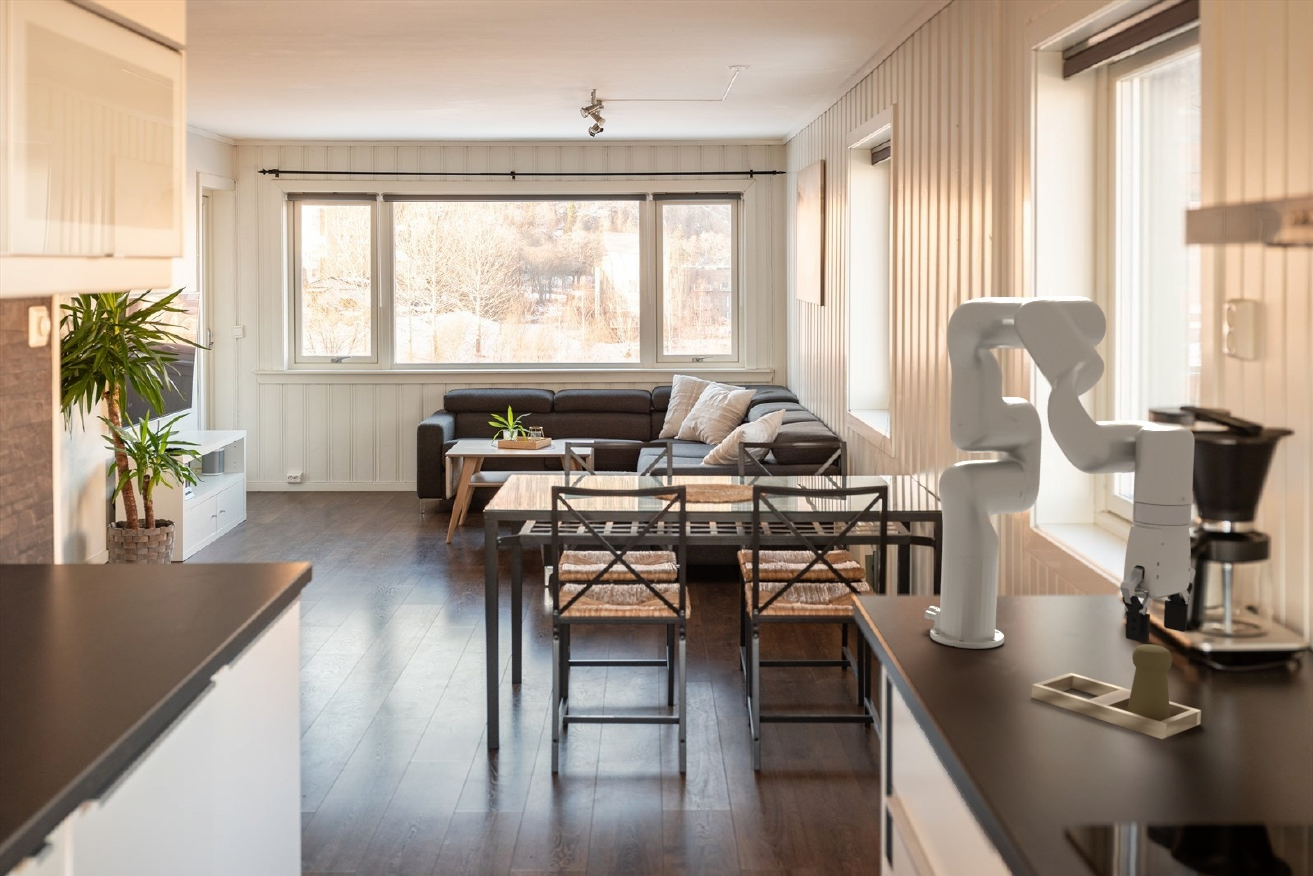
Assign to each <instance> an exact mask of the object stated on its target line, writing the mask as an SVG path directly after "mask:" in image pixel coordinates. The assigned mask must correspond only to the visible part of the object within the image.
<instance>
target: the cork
mask: <svg viewBox="0 0 1313 876" xmlns="http://www.w3.org/2000/svg"><path fill="white" fill-rule="evenodd" d="M1131 659H1132V662H1133V663H1132V664H1133V665H1134V666H1135V671H1134V675H1133V680H1132V685H1131V689H1130V690H1131V694H1130V699H1129V704H1128V708H1127V712H1131V713H1134V714H1137V715H1140V716H1144V717H1147V718H1150V719H1153V720H1157V721H1163V720H1165V719H1168V718H1170V706H1169V701H1170V696H1169V683H1168V671H1169V670H1170V669H1171V666H1172V663H1173V657H1172V653H1171V651H1170V650H1169V649H1167V648H1166V647H1164V646H1161V645H1157V644H1147V643H1143V644H1139V645H1137V646H1136V647H1135V648H1134V649H1133V652H1132V658H1131Z"/></svg>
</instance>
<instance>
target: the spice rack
mask: <svg viewBox="0 0 1313 876" xmlns="http://www.w3.org/2000/svg"><path fill="white" fill-rule="evenodd" d="M1070 689H1074V690H1078V691H1081V692H1085V693H1088V694H1090V695H1094V696H1096V697H1093V698H1090V699H1088V698H1086V697H1085V698H1084V697H1082V696H1079V695H1075V694H1072V693H1068V692H1066V691H1067V690H1070ZM1030 694H1031V696H1030V697H1031V698H1032V699H1035V700H1038V701H1041V702H1044V703H1047V704H1050V705H1052V706H1056V707H1060V708H1062V709H1063V708H1064V709H1065V710H1070V711H1073V712H1076V713H1078V714H1082V715H1084V716H1087V717H1091V718H1094V719H1097V720H1101V721H1104V722H1107V723H1110V724H1112V725H1116V726H1120V727H1122V728H1126V729H1128V730H1133V731H1134V732H1135V731H1136V732H1137V733H1141V734H1145V735H1148V736H1151V737H1154V738H1157V739H1160V740H1164V739H1166V738H1168V737H1172V736H1174V735H1177V734H1178V733H1182V732H1184V731H1187V730H1189V729H1192V728H1194V727H1197V726H1199V725H1201V719H1202V718H1201V716H1202V710H1201V709H1198V708H1193V707H1190V706H1187V705H1184V704H1181V703H1180V704H1179V703H1176V702H1173V701H1170V700H1169V706H1170V718H1168V719H1165V720H1163V721H1157V720H1153V719H1150V718H1147V717H1144V716H1140V715H1137V714H1134V713H1131V712H1127V708H1128V704H1129V699H1130V694H1131V689H1128V688H1125V687H1122V686H1118V685H1115V684H1111V683H1108V682H1104V681H1101V680H1098V679H1095V678H1090V677H1087V676H1084V675H1080V674H1077V673H1074V672H1069V673H1064V674H1062V675H1059V676H1055V677H1053V678H1050V679H1049V678H1048V679H1047V680H1043V681H1038V682H1036V683H1033V684H1031V693H1030Z"/></svg>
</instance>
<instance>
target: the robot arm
mask: <svg viewBox="0 0 1313 876" xmlns="http://www.w3.org/2000/svg"><path fill="white" fill-rule="evenodd" d="M946 330H947V331H946V343H947V352H948V357H949V358H948V359H949V362H950V368H951V369H950V370H951V381H950V382H951V383H950V407H949V411H950V413H949V414H950V415H949V434H950V435H949V436H950V440H951V443H952V445H953V446H954V447H955V448H956V449H957V450H958V451H960V452H964V453H974V454H975V453H976V454H981V453H982V454H983V453H984V454H985V453H986V454H987V453H999V459H979V460H978V459H977V460H976V459H975V460H966V461H960V462H959V461H958V462H955V463H953V464H951V465H949V466H948V467H946V469H944V471H943V472H942V473H941V474H940V475H941V476H940V477H939V481H938V495H939V501H940V508H941V509H940V510H941V514H942V516H941V517H942V550H941V551H942V552H941V573H940V574H941V578H940V579H941V580H940V581H941V582H940V599H939V600H940V603H939V605H940V606H939V607H937V606H935V605H929V606H928V608H927V610H926V611H925V612H924V615H923V616H924V618H925V619H928V620H931V621H932V620H933V621H934V626H933V627H931V629H930V631H929V636H930V639H932V640H933V641H935V642H937V643H939V644H942V645H946V646H949V647H953V646H954V648H961V649H973V650H976V649H977V650H979V649H982V650H983V649H992V648H997V647H1000V646H1001V645H1003V644H1004V642H1005V635H1004V634H1003V633H1002V632H1001V631H999V630H998V629H996V621H997V599H998V581H999V580H998V579H999V557H1000V556H999V554H1000V553H999V552H1000V551H999V550H1000V543H999V537H998V534H997V531H996V530H995V528H994V526H993V525H992V522H991V520H990V519H989V518H990V517H989V516H994V515H1003V514H1004V515H1006V514H1008V515H1009V514H1017V513H1023V512H1026V511H1028V510H1029V509H1031V508H1032V507H1033V506H1034V505H1035V503H1036V501H1037V499H1038V497H1039V491H1040V482H1041V481H1040V480H1041V463H1042V462H1041V459H1042V458H1041V456H1042V439H1043V437H1042V434H1043V432H1042V424H1041V418H1040V415H1039V413H1038V411H1037V409H1036V407H1035V406H1034V404H1032V403H1031V402H1030V401H1029V400H1027V399H1025V398H1022V397H1018V396H1017V397H1015V396H1014V397H1013V396H1012V397H1011V396H1010V397H1009V396H1006V397H1004V396H1003V371H1002V368H1001V365H1000V364H999V362H998V359H997V358H996V356H995V355H994V353H993V351H991V350H993V349H1007V350H1010V349H1012V350H1014V349H1017V350H1018V349H1020V350H1021V349H1023V350H1024V349H1025V350H1026V351H1027V352H1028V354H1029V355H1030V358H1031V359H1032V360H1033V362H1034V364H1035V365H1036V367H1037V368H1038V370H1039V371H1040V373H1041V374H1042V376H1043V378H1044V379H1045V380H1046V382H1047V384H1048V385H1049V387H1050V393H1049V395H1048V399H1047V405H1046V406H1047V408H1046V409H1047V410H1046V411H1047V413H1046V414H1047V421H1048V428H1049V431H1050V433H1051V435H1052V437H1053V439H1054V440H1055V442H1056V443H1057V446H1058V447H1059V449H1060V450H1061V452H1062V453H1063V455H1064V456H1065V458H1066V459H1067V460H1068V461H1069V462H1070V463H1071V465H1072V466H1074V468H1075V469H1077V470H1079V471H1081V472H1082V473H1086V474H1090V475H1097V474H1098V475H1103V474H1118V473H1122V474H1126V473H1127V474H1128V473H1129V474H1130V473H1134V475H1133V476H1134V479H1133V482H1134V483H1133V505H1132V524H1131V526H1130V529H1129V535H1128V538H1127V542H1126V543H1127V544H1126V550H1125V551H1126V552H1125V557H1124V558H1125V559H1124V567H1123V568H1124V569H1123V579H1122V580H1123V581H1122V582H1121V583H1120V585H1119V588H1120V592H1121V595H1122V598H1121V599H1122V603H1123V604H1124V610H1125V612H1126V617H1125V619H1126V620H1125V638H1126V639H1127V640H1131V641H1135V642H1140V643H1142V644H1147V643H1148V642H1150V627H1151V626H1150V625H1151V624H1150V623H1151V622H1150V621H1151V613H1148V611H1149V608H1150V607H1151V604H1152V602H1153V600H1157V599H1161V598H1165V597H1166V598H1167V600H1164V608H1163V609H1164V610H1163V611H1164V613H1163V627H1164V628H1165V629H1168V630H1171V631H1177V632H1181V633H1183V632H1187V630H1188V629H1187V628H1188V614H1189V613H1188V611H1189V609H1188V608H1189V603H1190V602H1191V596H1190V594H1191V592H1192V590H1193V588H1194V585H1193V583H1194V578H1195V576H1196V570H1195V568H1193V567H1192V566H1191V565H1192V564H1191V563H1192V561H1191V558H1192V556H1191V555H1192V553H1191V547H1192V546H1191V533H1190V532H1191V531H1190V528H1191V527H1192V525H1191V523H1192V506H1193V503H1192V502H1193V486H1194V485H1193V484H1194V462H1195V460H1194V459H1195V443H1196V442H1195V440H1196V439H1195V436H1194V433H1193V432H1192V430H1191V429H1188V428H1186V427H1181V426H1174V425H1173V426H1172V425H1159V424H1156V423H1154V422H1150V421H1146V420H1105V421H1104V420H1102V421H1100V420H1099V421H1094V420H1093V419H1092V418H1091V416H1090V415H1089V413H1088V412H1087V411H1086V409H1085V408H1084V406H1083V404H1082V402H1081V401H1080V399H1079V397H1080V396H1082V395H1084V394H1086V393H1087V392H1088V391H1090V390H1091V389H1092V388H1094V387H1095V385H1097V383H1098V382H1099V381H1100V380H1101V378H1102V377H1103V375H1104V373H1105V362H1104V360H1103V358H1102V356H1101V355H1100V354H1099V352H1098V351H1097V349H1095V347H1097V346H1098V345H1099V344H1101V342H1102V341H1103V340H1104V337H1105V335H1106V331H1107V320H1106V316H1105V313H1104V311H1103V310H1102V308H1101V307H1100V305H1099V304H1098V303H1096V302H1095V301H1094V300H1092V299H1091V298H1088V297H1086V296H1085V297H1083V296H1052V295H1051V296H1038V297H1034V298H1033V297H1031V298H1030V297H1025V298H1024V297H981V298H974V299H971V300H969V299H968V300H966V301H964V302H962V303H961V304H960V305H958V306H957V307H956V308H955V309H954V311H953V312H952V314H951V316H950V319H949V322H948V324H947V329H946ZM1140 599H1143V600H1142V601H1141V600H1140Z"/></svg>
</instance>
